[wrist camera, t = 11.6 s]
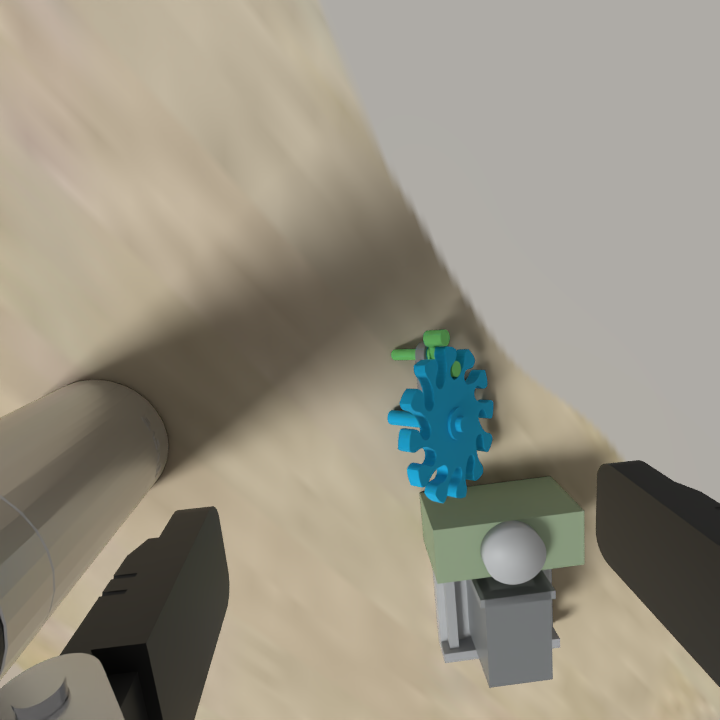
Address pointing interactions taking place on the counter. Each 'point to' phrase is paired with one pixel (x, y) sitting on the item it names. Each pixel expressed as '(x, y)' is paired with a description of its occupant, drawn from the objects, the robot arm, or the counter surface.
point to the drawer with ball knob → (496, 546)
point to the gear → (443, 417)
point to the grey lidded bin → (512, 629)
